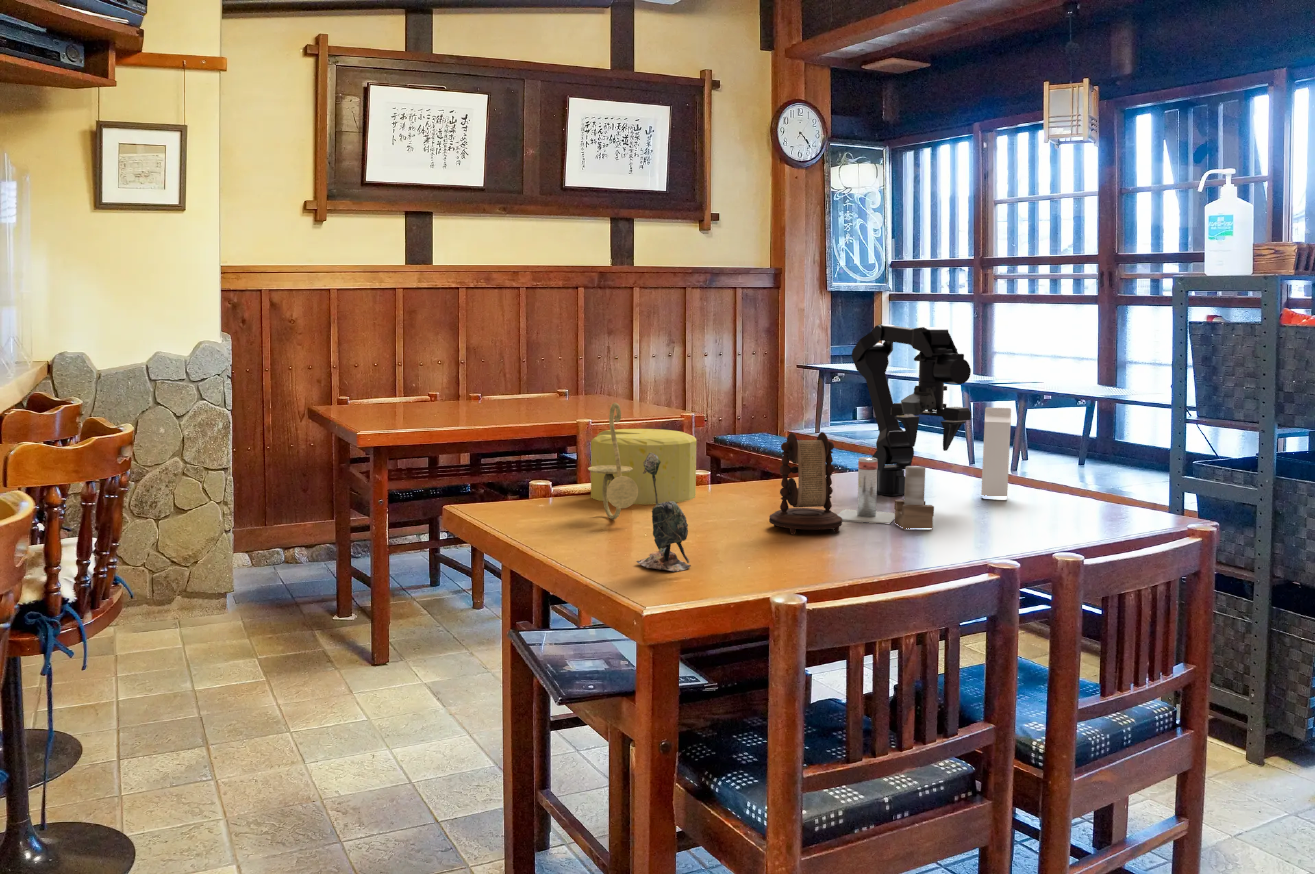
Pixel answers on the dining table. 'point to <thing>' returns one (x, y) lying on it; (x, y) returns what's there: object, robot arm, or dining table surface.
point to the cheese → (634, 448)
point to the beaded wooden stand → (807, 485)
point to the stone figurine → (665, 528)
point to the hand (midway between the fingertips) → (928, 448)
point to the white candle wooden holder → (914, 501)
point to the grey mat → (852, 517)
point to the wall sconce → (622, 487)
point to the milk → (996, 451)
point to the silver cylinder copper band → (867, 486)
